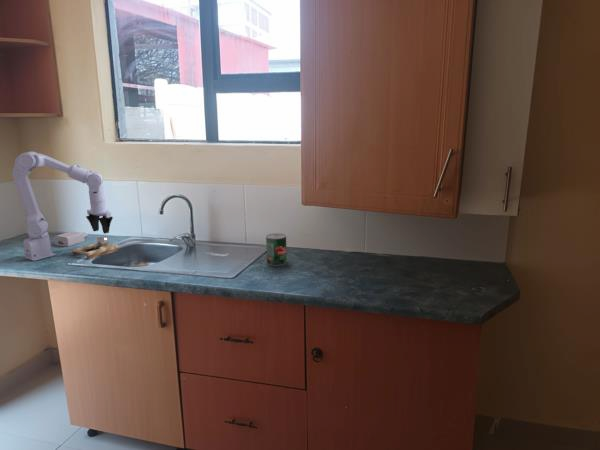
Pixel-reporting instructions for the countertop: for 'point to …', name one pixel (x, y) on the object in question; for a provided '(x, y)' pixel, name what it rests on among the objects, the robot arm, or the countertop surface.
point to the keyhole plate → (95, 250)
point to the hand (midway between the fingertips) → (101, 231)
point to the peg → (102, 241)
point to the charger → (69, 238)
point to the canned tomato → (276, 249)
